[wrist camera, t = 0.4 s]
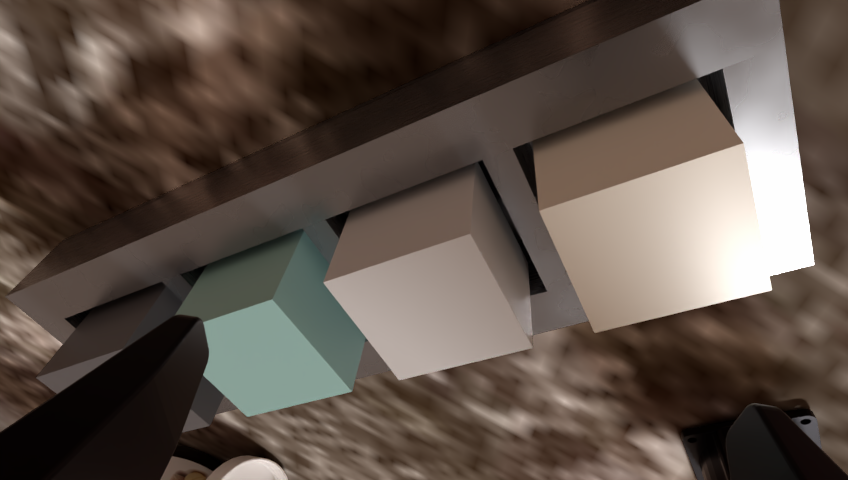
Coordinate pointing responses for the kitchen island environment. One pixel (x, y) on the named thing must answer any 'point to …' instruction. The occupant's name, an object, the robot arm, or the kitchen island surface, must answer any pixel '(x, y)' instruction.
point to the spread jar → (219, 467)
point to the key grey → (434, 275)
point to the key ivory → (652, 209)
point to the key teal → (275, 327)
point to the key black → (123, 345)
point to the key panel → (459, 155)
